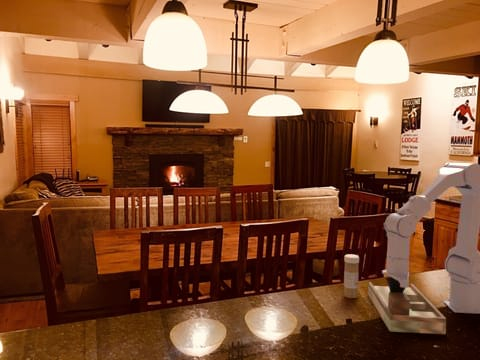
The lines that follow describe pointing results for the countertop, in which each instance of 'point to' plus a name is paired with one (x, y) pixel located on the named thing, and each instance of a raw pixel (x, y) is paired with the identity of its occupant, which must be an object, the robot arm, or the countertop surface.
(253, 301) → the countertop surface
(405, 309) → the walnut block
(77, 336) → the countertop surface
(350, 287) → the sprinkles bottle
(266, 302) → the countertop surface
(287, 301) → the countertop surface
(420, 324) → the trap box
